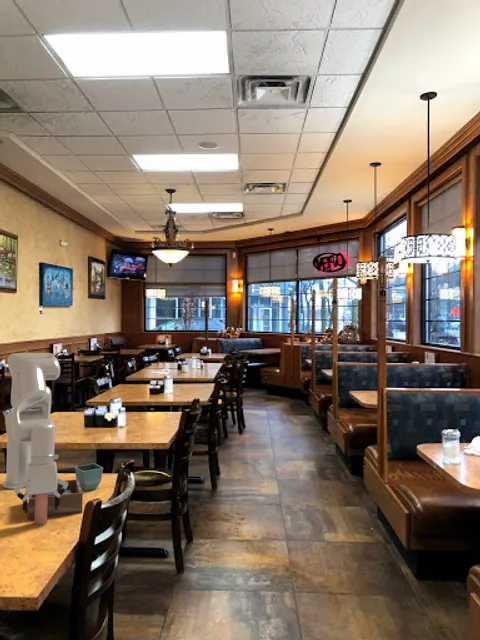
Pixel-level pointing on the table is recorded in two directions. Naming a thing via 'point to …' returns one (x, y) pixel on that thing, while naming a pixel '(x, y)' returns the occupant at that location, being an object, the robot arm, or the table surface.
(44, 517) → the peg
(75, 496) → the open box
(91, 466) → the flower pot
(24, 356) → the robot arm
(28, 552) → the table surface
